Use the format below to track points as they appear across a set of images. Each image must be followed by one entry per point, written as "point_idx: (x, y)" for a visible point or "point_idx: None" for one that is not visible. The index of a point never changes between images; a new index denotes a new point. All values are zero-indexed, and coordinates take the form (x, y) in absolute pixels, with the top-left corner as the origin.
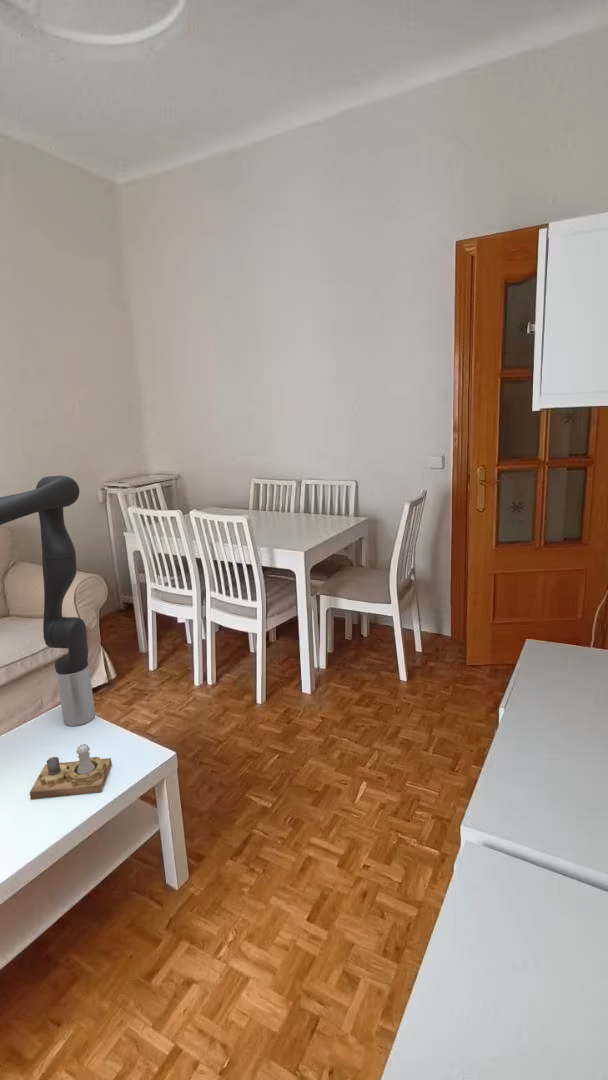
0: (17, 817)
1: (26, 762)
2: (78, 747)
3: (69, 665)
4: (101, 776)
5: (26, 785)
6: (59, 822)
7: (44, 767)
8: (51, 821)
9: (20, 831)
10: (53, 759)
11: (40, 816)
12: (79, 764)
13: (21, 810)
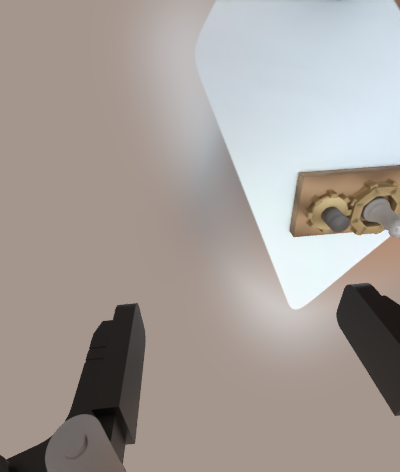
0: (281, 257)
1: (258, 144)
2: (397, 231)
3: None
4: None
5: (275, 203)
6: (330, 265)
7: (304, 185)
8: (321, 264)
9: (290, 275)
10: (341, 223)
11: (307, 257)
12: (374, 217)
13: (282, 247)
